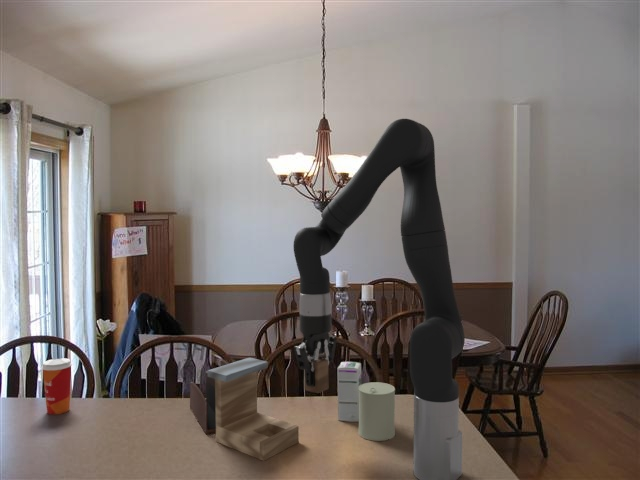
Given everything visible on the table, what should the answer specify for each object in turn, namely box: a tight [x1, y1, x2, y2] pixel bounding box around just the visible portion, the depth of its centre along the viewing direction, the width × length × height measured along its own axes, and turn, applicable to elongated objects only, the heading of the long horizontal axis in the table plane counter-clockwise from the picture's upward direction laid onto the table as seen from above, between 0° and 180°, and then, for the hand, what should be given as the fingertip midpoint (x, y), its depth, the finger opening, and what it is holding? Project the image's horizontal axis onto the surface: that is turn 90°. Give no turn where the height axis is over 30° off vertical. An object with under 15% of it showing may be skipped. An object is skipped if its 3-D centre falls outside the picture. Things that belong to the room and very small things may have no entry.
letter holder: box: [189, 358, 230, 435], centre depth 145 cm, size 10×20×14 cm, turn 25°
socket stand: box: [207, 357, 300, 462], centre depth 130 cm, size 18×14×18 cm
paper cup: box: [41, 357, 73, 415], centre depth 149 cm, size 8×8×14 cm
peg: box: [304, 357, 330, 394], centre depth 127 cm, size 4×4×7 cm
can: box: [357, 381, 396, 442], centre depth 134 cm, size 9×9×12 cm
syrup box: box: [337, 361, 362, 423], centre depth 144 cm, size 6×6×14 cm
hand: (316, 383), depth 127 cm, fingers closed on peg, 4 cm apart
